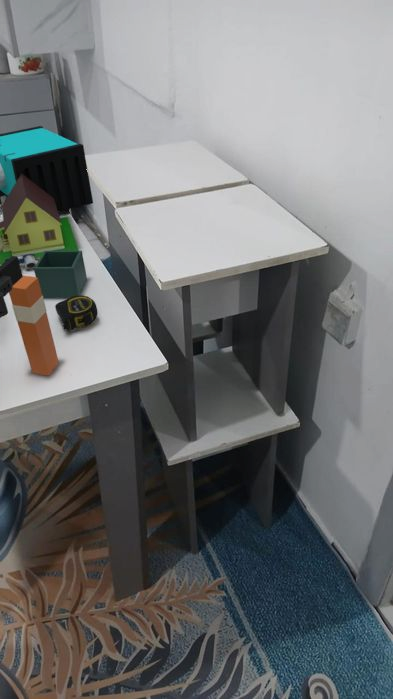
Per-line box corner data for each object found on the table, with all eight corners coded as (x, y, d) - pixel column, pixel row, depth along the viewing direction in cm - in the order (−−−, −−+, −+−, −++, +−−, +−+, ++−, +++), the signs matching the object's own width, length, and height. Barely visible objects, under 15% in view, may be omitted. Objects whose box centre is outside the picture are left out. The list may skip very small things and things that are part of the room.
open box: (40, 298, 104) (33, 268, 100) (50, 279, 110) (44, 250, 106) (79, 298, 104) (73, 268, 100) (87, 279, 109) (81, 250, 105)
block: (31, 373, 86) (6, 286, 77) (42, 359, 89) (19, 274, 79) (48, 376, 86) (25, 289, 76) (59, 362, 88) (38, 277, 78)
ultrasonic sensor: (9, 275, 114) (6, 266, 111) (7, 266, 115) (4, 257, 111) (38, 269, 115) (35, 260, 112) (36, 260, 116) (33, 251, 113)
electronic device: (-35, 202, 144) (-52, 144, 135) (52, 180, 155) (41, 125, 146) (-1, 232, 127) (-19, 168, 118) (93, 205, 138) (84, 144, 129)
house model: (-7, 266, 114) (-24, 208, 107) (-9, 229, 130) (-24, 177, 122) (79, 251, 118) (68, 195, 111) (67, 217, 134) (57, 166, 126)
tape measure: (57, 316, 99) (52, 299, 97) (93, 307, 101) (90, 290, 99) (64, 336, 94) (60, 319, 92) (103, 326, 96) (100, 309, 94)
